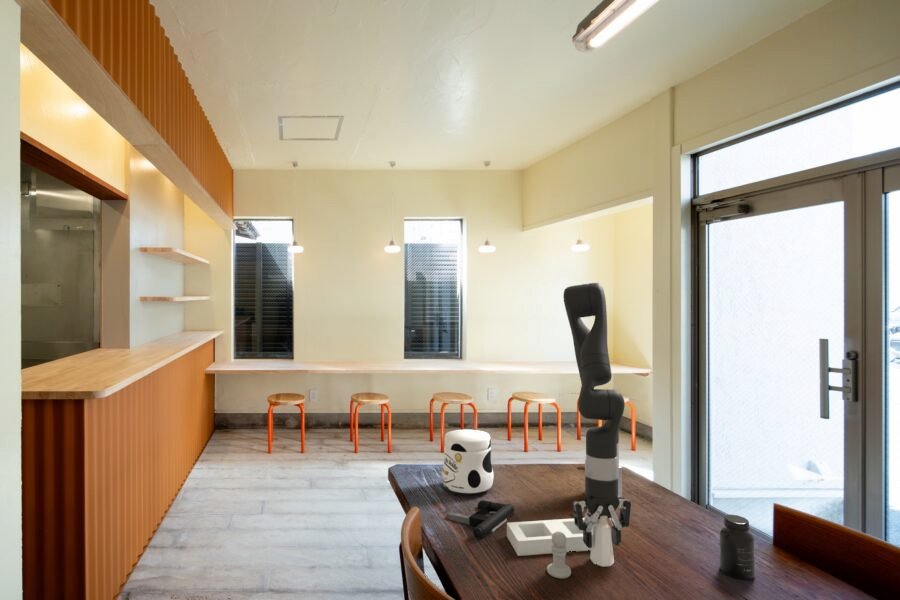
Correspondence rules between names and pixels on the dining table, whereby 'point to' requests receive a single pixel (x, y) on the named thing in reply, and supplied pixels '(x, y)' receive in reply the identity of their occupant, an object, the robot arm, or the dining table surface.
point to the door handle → (485, 517)
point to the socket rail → (544, 536)
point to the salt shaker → (602, 543)
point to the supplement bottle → (737, 548)
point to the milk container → (467, 462)
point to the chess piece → (559, 557)
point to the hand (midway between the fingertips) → (601, 545)
